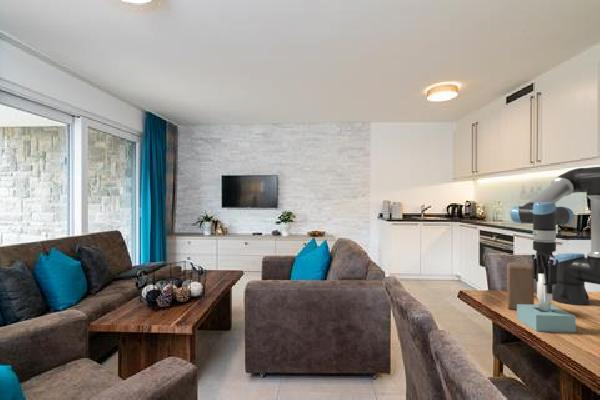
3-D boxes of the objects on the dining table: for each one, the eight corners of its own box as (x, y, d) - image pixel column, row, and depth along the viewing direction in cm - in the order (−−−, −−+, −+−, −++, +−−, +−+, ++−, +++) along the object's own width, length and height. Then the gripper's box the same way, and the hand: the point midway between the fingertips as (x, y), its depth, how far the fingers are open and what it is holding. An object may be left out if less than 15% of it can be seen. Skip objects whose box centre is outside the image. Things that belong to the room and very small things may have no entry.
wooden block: (533, 312, 154) (533, 267, 154) (507, 309, 160) (507, 265, 160) (533, 306, 163) (532, 263, 163) (508, 303, 168) (507, 262, 168)
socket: (552, 319, 146) (552, 305, 146) (575, 332, 132) (575, 316, 132) (517, 318, 147) (516, 304, 147) (536, 331, 133) (536, 315, 133)
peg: (546, 308, 141) (546, 273, 141) (552, 311, 137) (552, 275, 137) (536, 307, 142) (536, 273, 142) (542, 310, 138) (541, 275, 138)
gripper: (522, 238, 148) (522, 293, 148) (547, 243, 131) (547, 305, 131) (541, 238, 148) (541, 294, 148) (568, 243, 131) (568, 306, 131)
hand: (544, 299), depth 140 cm, fingers closed on peg, 4 cm apart
